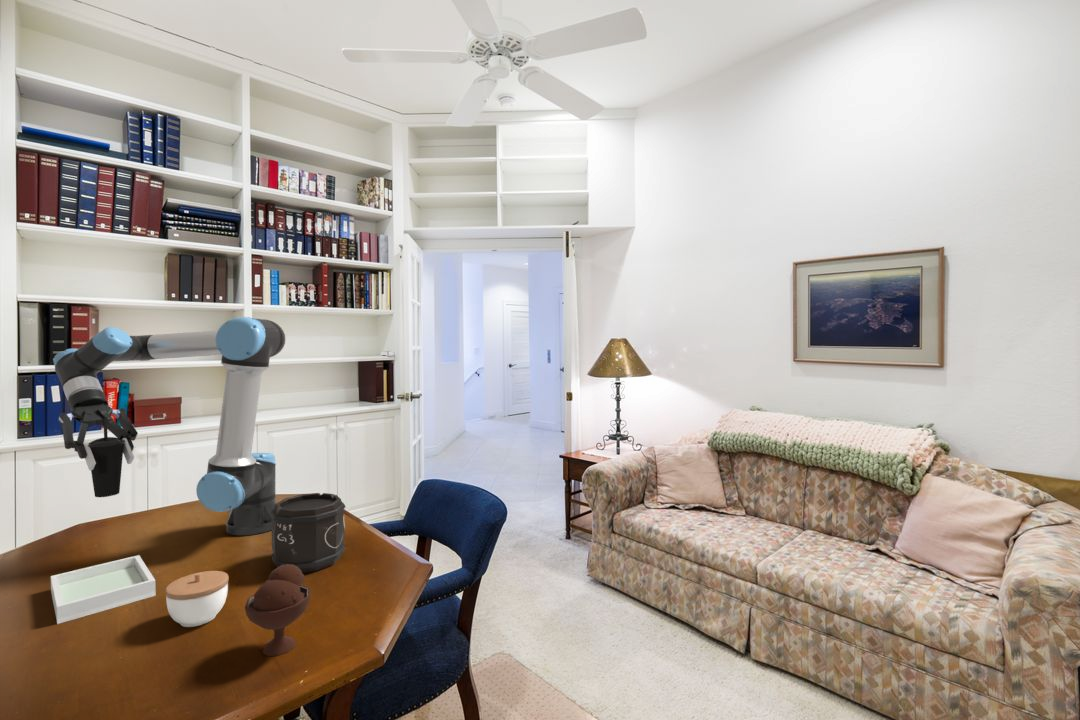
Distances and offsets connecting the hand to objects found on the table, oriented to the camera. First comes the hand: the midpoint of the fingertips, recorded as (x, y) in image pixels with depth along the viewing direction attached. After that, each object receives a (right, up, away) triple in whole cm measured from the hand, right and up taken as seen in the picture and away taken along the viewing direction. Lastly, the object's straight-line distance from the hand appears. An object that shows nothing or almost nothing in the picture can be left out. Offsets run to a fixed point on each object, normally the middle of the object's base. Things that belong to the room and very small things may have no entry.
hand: (112, 463), depth 128 cm
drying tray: (+10, -27, -14) cm, 32 cm away
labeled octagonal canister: (+48, -27, +5) cm, 55 cm away
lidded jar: (+39, -27, -24) cm, 53 cm away
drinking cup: (-3, -9, +2) cm, 9 cm away
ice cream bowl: (+60, -27, -34) cm, 75 cm away
